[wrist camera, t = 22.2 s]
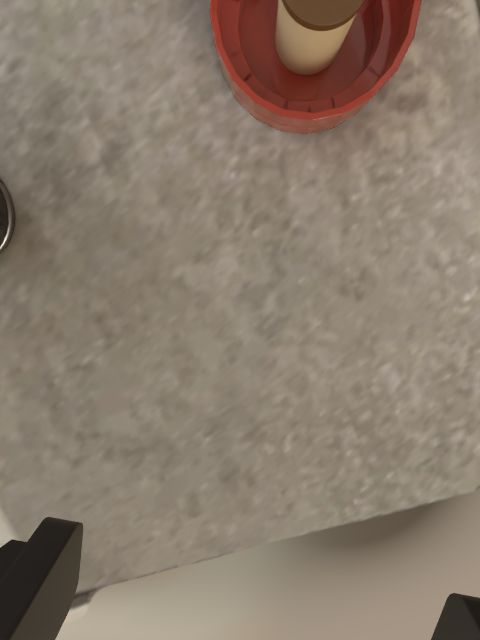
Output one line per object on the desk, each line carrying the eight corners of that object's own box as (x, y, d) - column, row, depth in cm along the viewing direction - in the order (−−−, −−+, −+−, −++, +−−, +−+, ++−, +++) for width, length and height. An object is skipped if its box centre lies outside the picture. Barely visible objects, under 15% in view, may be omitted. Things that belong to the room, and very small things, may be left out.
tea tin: (262, 58, 32) (263, -1, 24) (292, -14, 31) (306, -105, 22) (322, 89, 33) (345, 42, 24) (355, 18, 31) (392, -58, 23)
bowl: (191, 88, 34) (178, 64, 28) (265, -101, 30) (266, -169, 25) (340, 163, 34) (355, 153, 29) (428, -12, 31) (463, -60, 26)
